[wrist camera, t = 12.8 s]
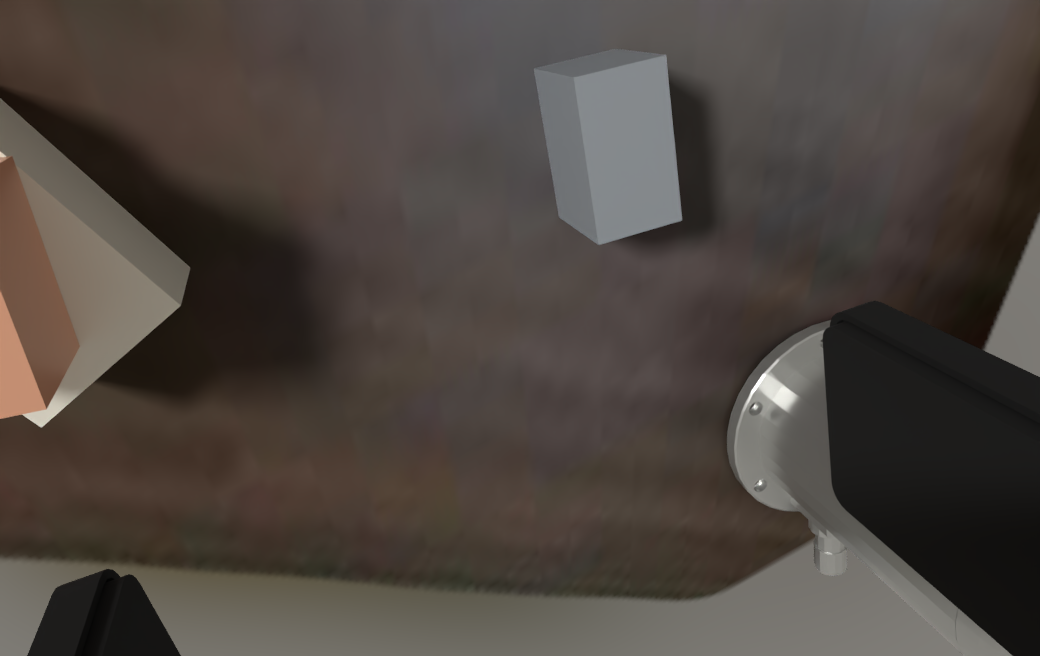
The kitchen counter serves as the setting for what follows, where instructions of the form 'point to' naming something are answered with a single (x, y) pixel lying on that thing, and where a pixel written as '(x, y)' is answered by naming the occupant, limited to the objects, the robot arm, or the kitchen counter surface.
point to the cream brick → (92, 259)
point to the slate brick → (611, 142)
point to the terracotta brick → (28, 307)
